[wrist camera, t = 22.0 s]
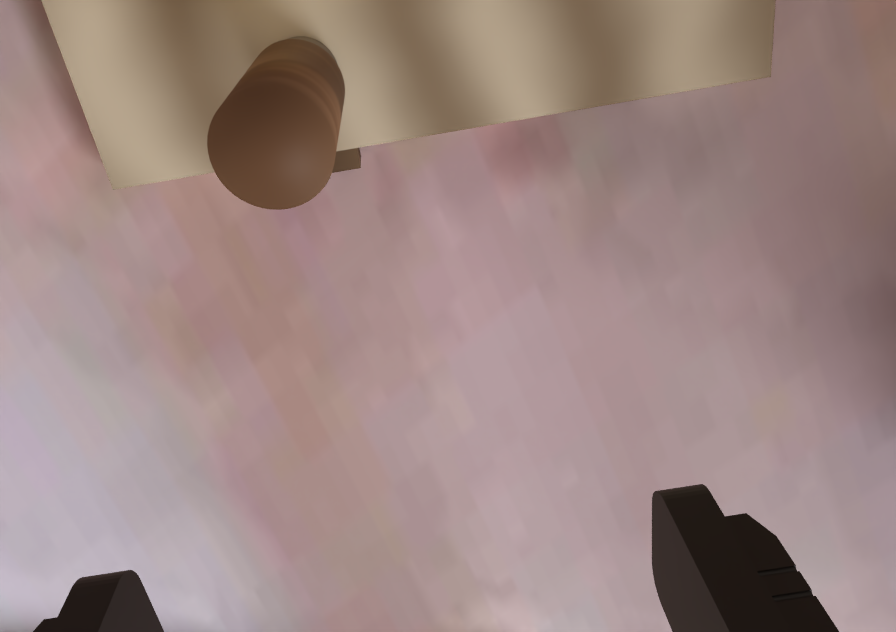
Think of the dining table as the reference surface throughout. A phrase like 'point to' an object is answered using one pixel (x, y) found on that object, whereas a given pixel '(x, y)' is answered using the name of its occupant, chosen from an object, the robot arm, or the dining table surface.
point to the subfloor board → (389, 64)
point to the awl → (280, 125)
